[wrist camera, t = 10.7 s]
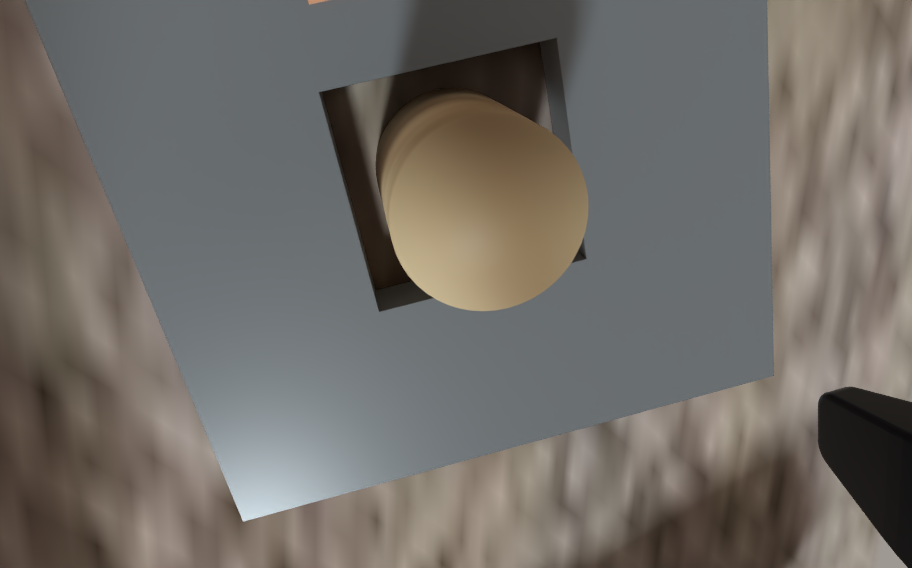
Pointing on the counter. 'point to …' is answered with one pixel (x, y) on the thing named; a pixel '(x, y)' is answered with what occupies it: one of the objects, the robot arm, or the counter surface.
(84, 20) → the hole plate
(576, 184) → the peg
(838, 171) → the counter surface
